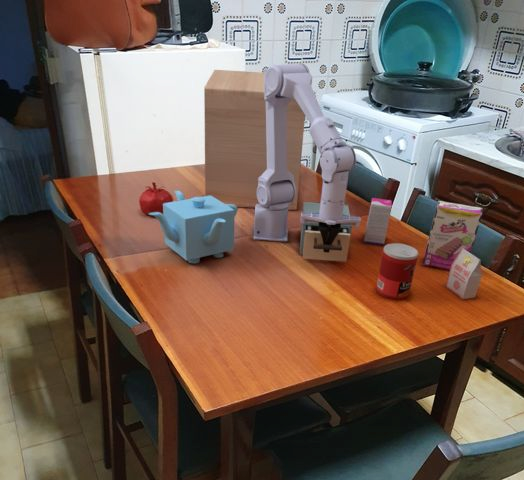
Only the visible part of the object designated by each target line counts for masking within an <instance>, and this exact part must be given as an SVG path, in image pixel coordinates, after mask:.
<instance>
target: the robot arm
mask: <svg viewBox="0 0 524 480" xmlns="http://www.w3.org/2000/svg"><path fill="white" fill-rule="evenodd" d="M264 73H265V74H264V99H265V101H266V144H267V170H266V171H265V172H264V173H263V174H262V175H261V176H260V177H259V178H258V188H257V199H258V202H259V203H260V204H256V206H255V208H254V219H253V221H254V222H253V224H252V225H253V226H252V230H253V237H252V238H253V240H257V241H268V242H269V241H272V242H283V243H287V242H288V237H289V236H288V234H289V230H288V218H289V217H288V216H289V210H288V207H289V206H291V202H292V201H294V199H295V197H296V187H295V184H294V176H293V175H292V174H291V173H290V172H289V171H288V170H287V105H288V104H289V102H290V101H291V100H292V99H295V100H296V101H297V103H298V104H299V106H300V108H301V109H302V111H303V112H304V114H305V118H306V119H307V120H308V122H309V125H310V127H309V135H310V136H311V138H312V140H313V142H314V144H315V146H316V148H317V150H318V152H319V154H320V156H321V157H319V165H320V168H321V179H322V185H321V186H322V187H321V195H320V202H319V203H320V212H312V213H302V212H300V219H299V220H300V224H301V223H305V222H310V223H319V230H320V233H321V236H322V239H323V244H325V245H332V243H333V241H334V239H335V238H336V236H337V235H338V233H339V232H340V230H341V225H351V226H352V227H355V228H360V227H361V226H360V225H361V221H362V220H361V216H356V215H351V214H350V215H345V214H343V209H344V205H345V201H346V195H347V188H348V182H349V181H348V180H349V174H350V171H352V170H353V169H354V168H355V166H356V163H357V154H356V151H355V148H354V147H353V145H351V144H348V143H347V142H346V141H343V139H342V137H341V135H340V133H339V131H338V129H337V127H336V125H335V122H334V121H333V120H332V118H330V117H326V116H324V114H323V113H324V112H323V111H322V108H321V106H320V104H319V101H318V98H317V97H316V94H315V92H314V90H313V87H312V84H313V75H312V73H311V72H310V69H309V67H308V66H307V64H306V63H301V62H300V63H293V64H292V63H291V64H275V63H272V64H270V65H269V66H268V67H267V68H266V70H265V72H264ZM329 225H330V226H329ZM328 233H329V235H328ZM327 239H328V241H327ZM323 251H324V252H327V253H329V251H330V250H326V249H323Z"/></svg>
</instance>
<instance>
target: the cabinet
mask: <svg viewBox="0 0 524 480" xmlns="http://www.w3.org/2000/svg"><path fill="white" fill-rule="evenodd" d="M320 203H321V202H312V201H303V202H302V211H301V213H312V212H320ZM343 214H345V215H350V216H351V213H350V209H349V204H344V209H343ZM300 224H301V225H300V237H299V240H300V241H299V254H300V255H302V256H303V248H304V239H305V230H306V225H310V226H319V223H310V222H305V223H300ZM329 226H330V225H329ZM352 227H353V226H351V225H341V228H346V231H347V233H349V234H350V236H352V235H351V234H352V229H353V228H352ZM349 243H351V240H350V241H349ZM349 249H350V246H349V247H348V250H349ZM348 254H349V253H348ZM348 254H347V256H348Z"/></svg>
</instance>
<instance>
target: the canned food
mask: <svg viewBox="0 0 524 480" xmlns="http://www.w3.org/2000/svg"><path fill="white" fill-rule="evenodd" d="M418 257H419V251H418V250H417V248H415V247H413V246H411V245H408V244H405V243H397V242H395V243H392V242H391V243H387V244H386V245H384V246H383V250H382V254H381V260H380V266H379V269H378V270H379V271H378V275H377V281H376V291H377V293H378V294H379V295H380V296H382V297H384V298H387V299H390V300H404V299H406V298H407V297H408V296H409V294H410V292H411V288H412V283H413V278H414V274H415V270H416V266H417V261H418Z"/></svg>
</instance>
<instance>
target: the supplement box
mask: <svg viewBox="0 0 524 480" xmlns="http://www.w3.org/2000/svg"><path fill="white" fill-rule="evenodd" d="M369 206H370V207H369V212H368V217H367V221H366V226H365V231H364V238H363V244H367V245H376V246H385V241H386V237H387V232H388V227H389V222H390V218H391V213H392V208H393V200H391V199H385V198H384V199H383V198H376V197H371V201H370V205H369Z"/></svg>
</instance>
